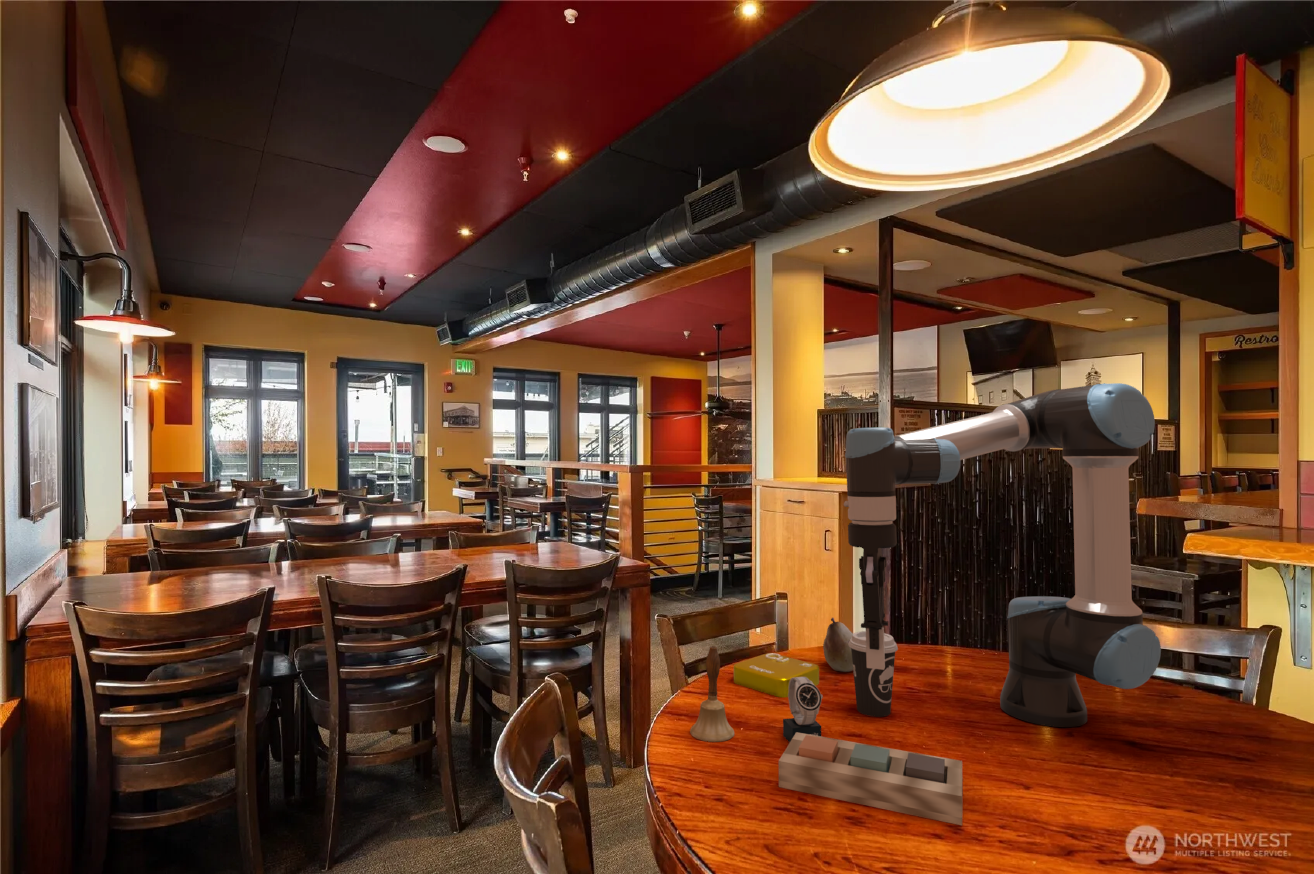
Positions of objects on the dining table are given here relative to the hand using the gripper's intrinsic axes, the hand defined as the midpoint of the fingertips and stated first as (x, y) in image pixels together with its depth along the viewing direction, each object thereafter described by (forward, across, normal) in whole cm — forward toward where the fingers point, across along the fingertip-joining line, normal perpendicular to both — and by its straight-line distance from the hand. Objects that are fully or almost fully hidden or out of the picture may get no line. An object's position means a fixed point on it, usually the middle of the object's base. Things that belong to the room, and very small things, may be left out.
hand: (875, 667), depth 108 cm
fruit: (+18, -54, -13) cm, 58 cm away
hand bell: (+17, -5, -30) cm, 35 cm away
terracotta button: (+16, +5, -9) cm, 19 cm away
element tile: (+18, -38, -26) cm, 49 cm away
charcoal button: (+16, +5, +7) cm, 18 cm away
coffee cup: (+18, -28, -4) cm, 34 cm away
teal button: (+16, +5, -1) cm, 17 cm away
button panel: (+17, +5, -1) cm, 18 cm away
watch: (+17, -8, -14) cm, 24 cm away
